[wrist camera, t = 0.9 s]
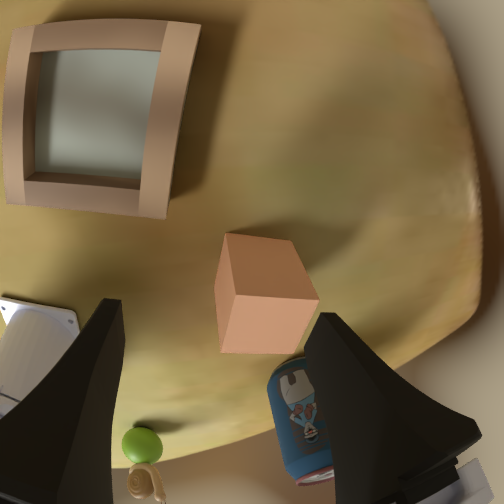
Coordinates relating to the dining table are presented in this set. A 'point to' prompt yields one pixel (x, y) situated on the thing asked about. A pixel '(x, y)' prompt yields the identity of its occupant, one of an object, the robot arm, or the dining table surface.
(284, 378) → the soda can
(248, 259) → the terracotta block
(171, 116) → the walnut base
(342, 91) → the dining table surface
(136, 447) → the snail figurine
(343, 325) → the robot arm
